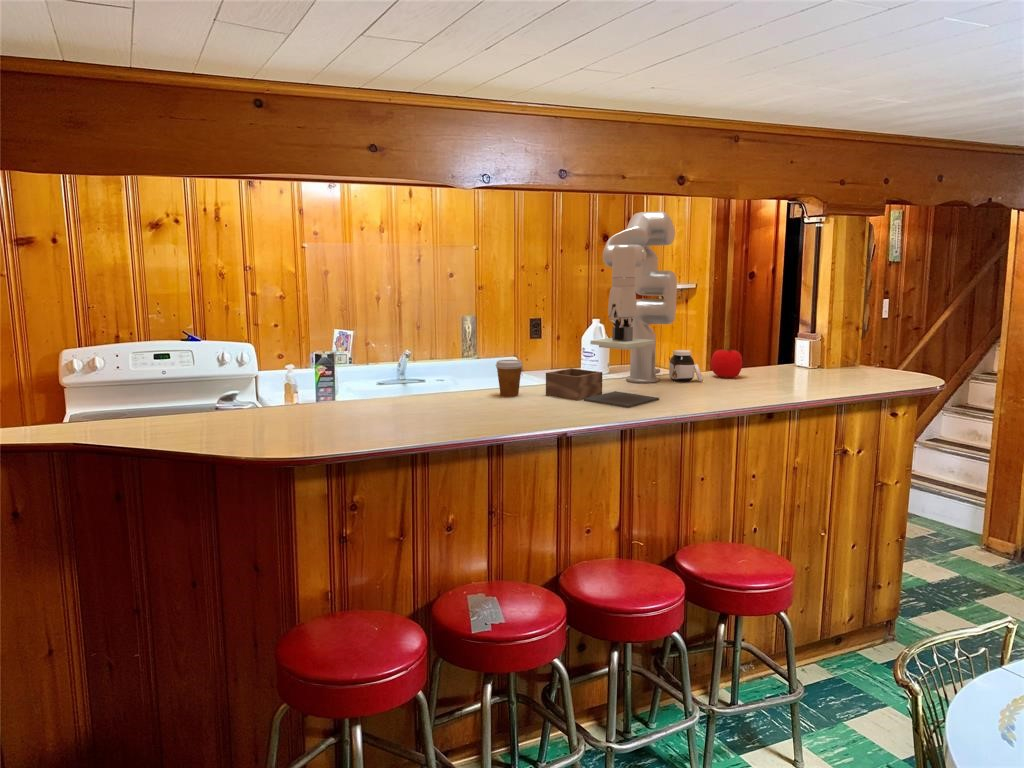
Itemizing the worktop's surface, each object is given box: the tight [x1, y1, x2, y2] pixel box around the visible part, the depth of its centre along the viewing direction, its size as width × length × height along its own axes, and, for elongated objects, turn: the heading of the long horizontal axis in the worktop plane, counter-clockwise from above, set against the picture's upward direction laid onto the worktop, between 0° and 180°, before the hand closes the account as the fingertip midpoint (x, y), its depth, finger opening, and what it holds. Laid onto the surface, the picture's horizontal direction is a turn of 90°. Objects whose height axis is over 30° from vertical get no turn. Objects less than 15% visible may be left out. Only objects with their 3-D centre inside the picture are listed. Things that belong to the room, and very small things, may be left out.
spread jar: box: [668, 349, 703, 383], centre depth 284 cm, size 12×11×12 cm
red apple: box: [710, 347, 743, 379], centre depth 292 cm, size 12×13×12 cm
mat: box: [583, 390, 660, 409], centre depth 247 cm, size 18×18×1 cm
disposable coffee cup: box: [495, 359, 523, 398], centre depth 257 cm, size 10×10×12 cm
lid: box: [590, 326, 654, 351], centre depth 244 cm, size 15×15×7 cm
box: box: [545, 367, 603, 401], centre depth 257 cm, size 14×14×8 cm
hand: (622, 338), depth 244 cm, fingers closed on lid, 3 cm apart
